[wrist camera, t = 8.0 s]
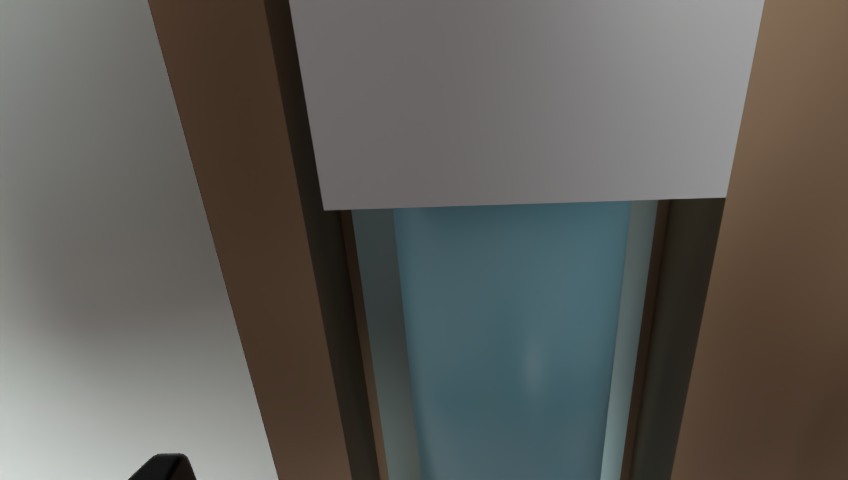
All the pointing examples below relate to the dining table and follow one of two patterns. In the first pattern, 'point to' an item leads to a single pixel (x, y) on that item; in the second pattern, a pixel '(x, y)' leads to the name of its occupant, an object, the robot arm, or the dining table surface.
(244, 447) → the dining table surface
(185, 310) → the dining table surface
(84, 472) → the dining table surface
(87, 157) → the dining table surface
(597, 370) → the grey and teal bar
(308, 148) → the walnut rack
